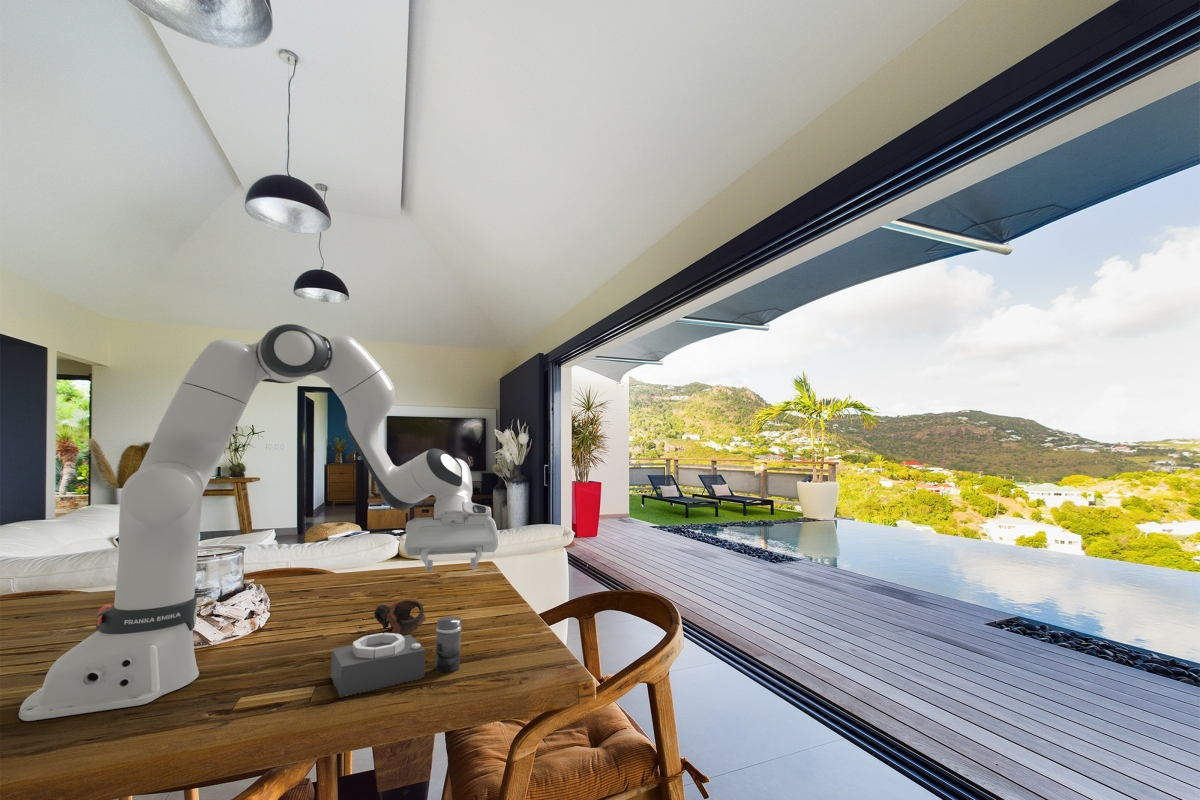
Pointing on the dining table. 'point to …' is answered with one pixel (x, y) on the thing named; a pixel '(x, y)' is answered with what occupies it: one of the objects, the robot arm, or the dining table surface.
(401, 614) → the pottery mug
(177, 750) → the dining table surface
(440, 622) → the lens
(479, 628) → the dining table surface
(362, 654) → the camera body
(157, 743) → the dining table surface
